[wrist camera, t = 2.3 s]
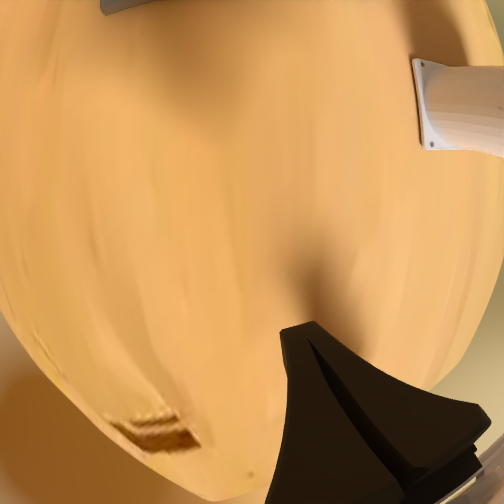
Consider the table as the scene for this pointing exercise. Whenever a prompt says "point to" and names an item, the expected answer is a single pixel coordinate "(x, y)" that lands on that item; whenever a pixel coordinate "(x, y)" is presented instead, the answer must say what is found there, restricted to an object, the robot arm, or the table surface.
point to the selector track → (118, 5)
